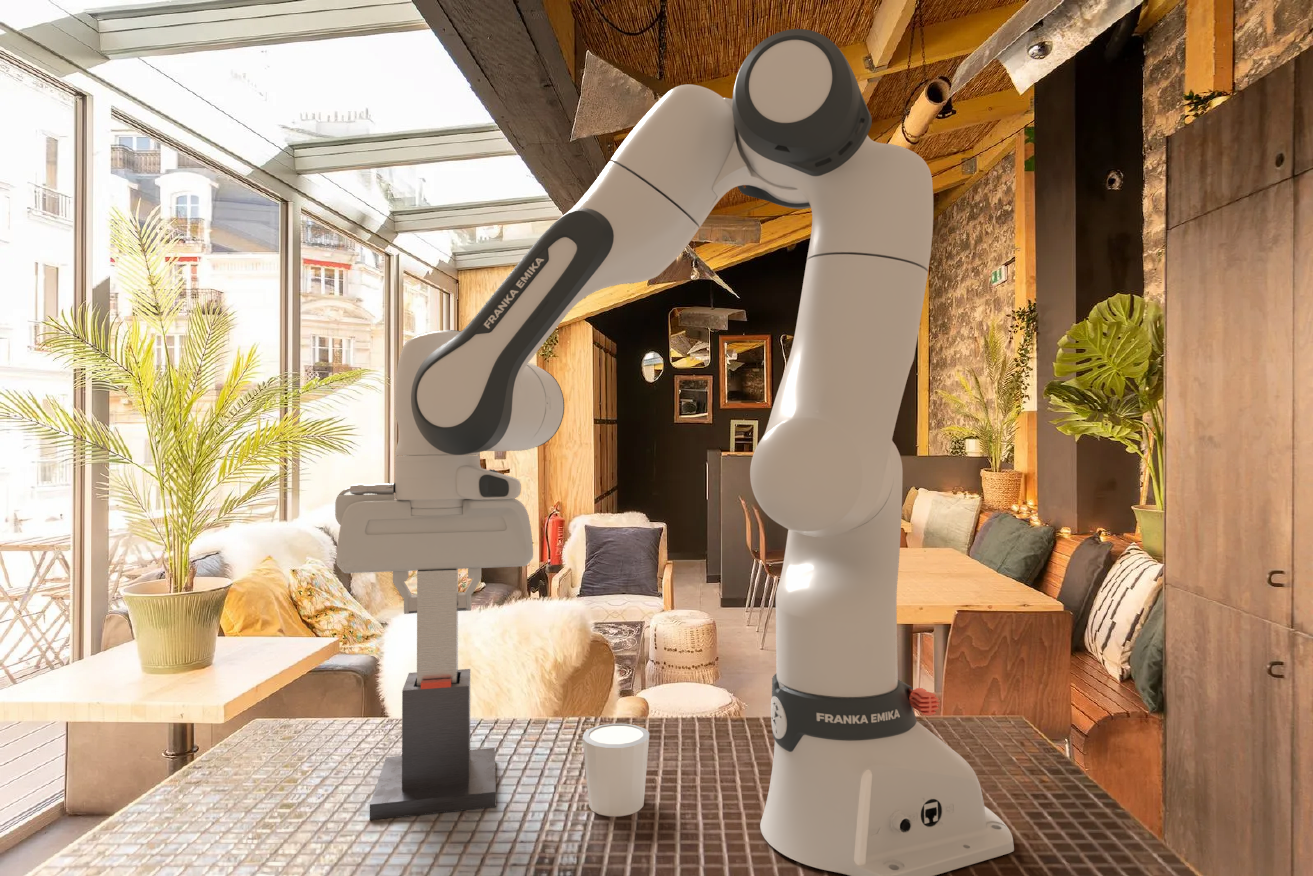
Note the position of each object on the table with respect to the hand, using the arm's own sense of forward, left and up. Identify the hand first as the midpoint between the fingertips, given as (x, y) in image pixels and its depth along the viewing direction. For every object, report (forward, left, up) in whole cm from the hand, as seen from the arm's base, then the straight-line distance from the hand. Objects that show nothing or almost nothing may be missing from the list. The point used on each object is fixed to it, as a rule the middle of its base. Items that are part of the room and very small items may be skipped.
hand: (438, 611), depth 81 cm
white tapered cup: (-18, +8, -19) cm, 27 cm away
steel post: (0, 0, -13) cm, 13 cm away
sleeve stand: (0, 0, -19) cm, 19 cm away
